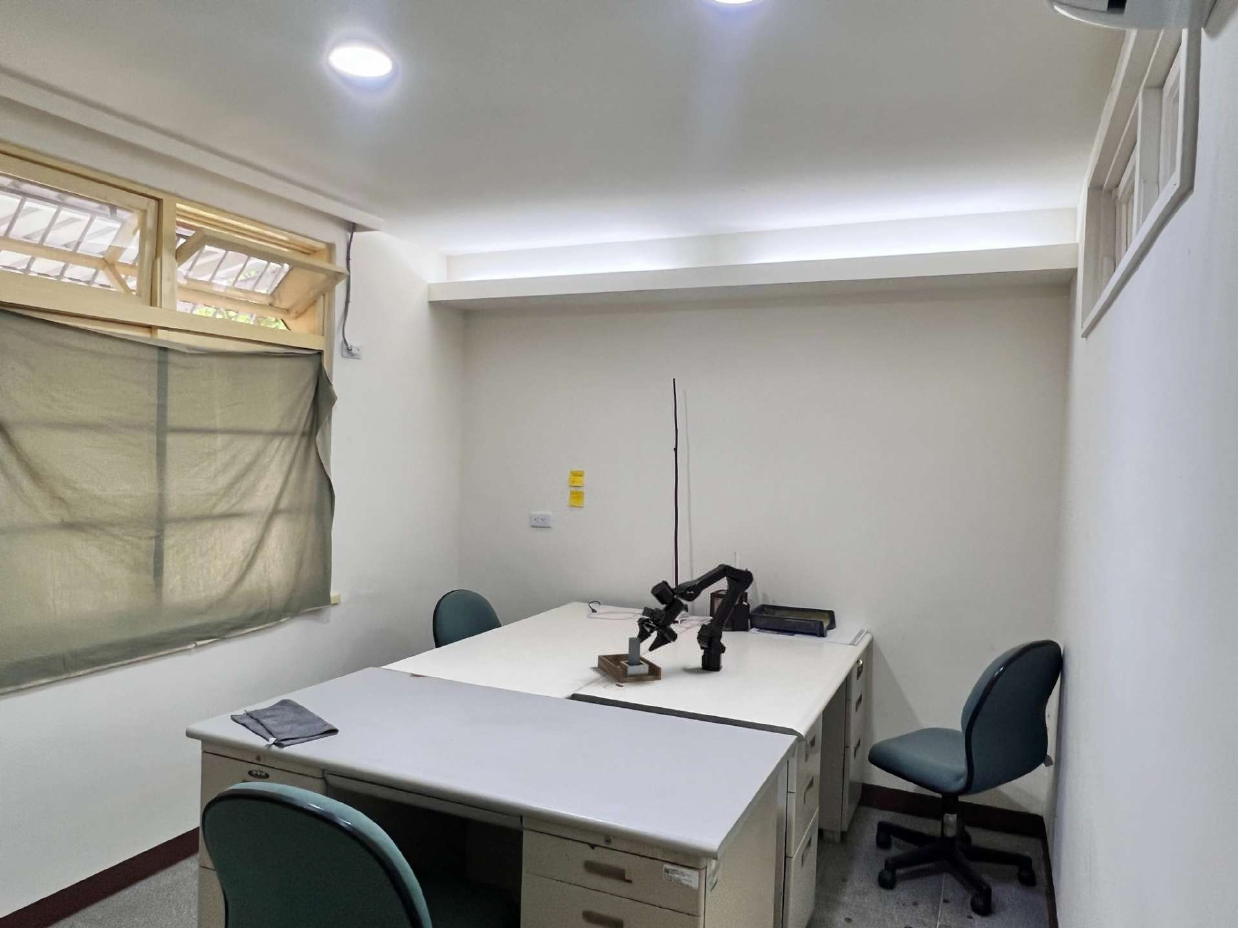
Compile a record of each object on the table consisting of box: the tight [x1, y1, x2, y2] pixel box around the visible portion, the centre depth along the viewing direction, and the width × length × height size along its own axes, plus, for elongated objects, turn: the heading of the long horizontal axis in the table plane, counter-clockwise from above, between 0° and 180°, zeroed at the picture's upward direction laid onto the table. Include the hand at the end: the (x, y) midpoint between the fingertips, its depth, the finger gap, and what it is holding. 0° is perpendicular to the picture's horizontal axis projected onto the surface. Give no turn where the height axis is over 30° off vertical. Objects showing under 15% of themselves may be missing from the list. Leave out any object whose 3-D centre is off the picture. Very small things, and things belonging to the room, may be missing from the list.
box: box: [597, 653, 662, 684], centre depth 287 cm, size 15×23×4 cm, turn 21°
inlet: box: [620, 660, 648, 678], centre depth 283 cm, size 8×8×4 cm
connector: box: [627, 636, 641, 666], centre depth 283 cm, size 4×4×13 cm
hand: (642, 648), depth 284 cm, fingers open, 9 cm apart
